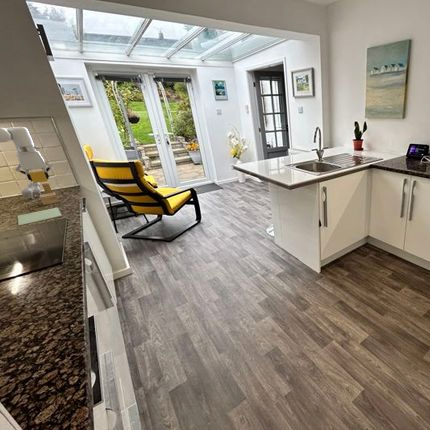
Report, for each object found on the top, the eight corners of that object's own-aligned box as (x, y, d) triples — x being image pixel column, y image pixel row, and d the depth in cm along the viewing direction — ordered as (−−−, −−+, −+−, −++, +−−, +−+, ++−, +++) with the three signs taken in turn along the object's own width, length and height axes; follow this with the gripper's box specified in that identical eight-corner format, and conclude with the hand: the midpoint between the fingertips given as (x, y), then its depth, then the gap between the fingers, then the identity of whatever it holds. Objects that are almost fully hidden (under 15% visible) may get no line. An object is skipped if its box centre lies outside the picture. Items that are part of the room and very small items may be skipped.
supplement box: (48, 198, 171) (41, 184, 167) (47, 197, 173) (41, 183, 169) (55, 197, 173) (48, 182, 169) (54, 196, 175) (48, 182, 171)
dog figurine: (47, 194, 181) (41, 179, 177) (32, 199, 170) (25, 183, 166) (38, 194, 180) (31, 179, 176) (23, 200, 169) (15, 184, 165)
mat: (18, 216, 142) (17, 215, 142) (57, 208, 153) (57, 207, 153) (18, 225, 130) (18, 225, 130) (62, 216, 141) (61, 215, 140)
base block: (42, 202, 163) (39, 195, 161) (57, 199, 168) (54, 192, 166) (43, 205, 159) (39, 197, 157) (59, 202, 164) (55, 194, 162)
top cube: (33, 181, 158) (28, 171, 156) (46, 179, 162) (42, 170, 160) (33, 183, 154) (29, 173, 152) (47, 181, 158) (43, 171, 156)
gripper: (46, 147, 159) (58, 176, 166) (4, 150, 147) (18, 182, 154) (47, 148, 155) (59, 178, 161) (4, 152, 143) (19, 184, 149)
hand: (39, 179), depth 158 cm, fingers closed on top cube, 6 cm apart
